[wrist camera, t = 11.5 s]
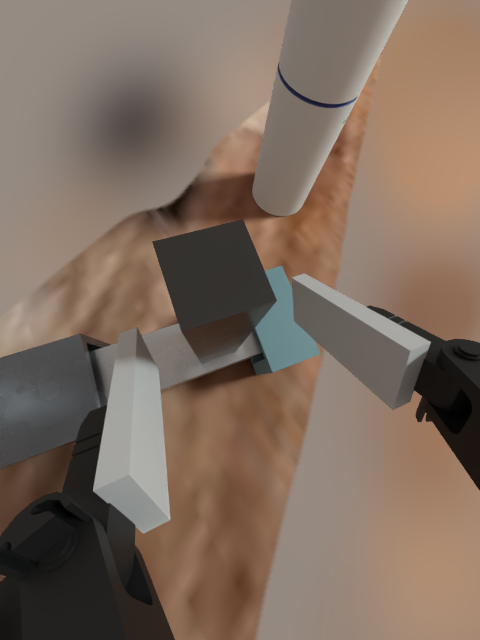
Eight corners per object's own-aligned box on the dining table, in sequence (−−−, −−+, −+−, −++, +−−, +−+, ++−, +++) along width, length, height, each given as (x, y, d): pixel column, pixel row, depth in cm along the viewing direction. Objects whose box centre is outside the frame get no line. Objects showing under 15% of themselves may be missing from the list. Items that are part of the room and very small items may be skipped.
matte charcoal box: (19, 459, 21) (-74, 497, 14) (7, 382, 22) (-83, 383, 15) (135, 415, 23) (102, 429, 16) (117, 346, 24) (80, 333, 17)
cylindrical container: (241, 185, 31) (345, -508, 7) (281, 163, 33) (478, -450, 8) (275, 225, 30) (535, -419, 6) (314, 200, 32) (642, -374, 8)
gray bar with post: (99, 414, 21) (-315, 537, 4) (88, 365, 22) (-290, 318, 5) (278, 347, 25) (417, 278, 8) (262, 308, 26) (357, 171, 9)
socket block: (256, 374, 25) (272, 372, 18) (230, 305, 26) (236, 279, 20) (292, 360, 26) (320, 353, 19) (264, 294, 27) (281, 265, 21)
